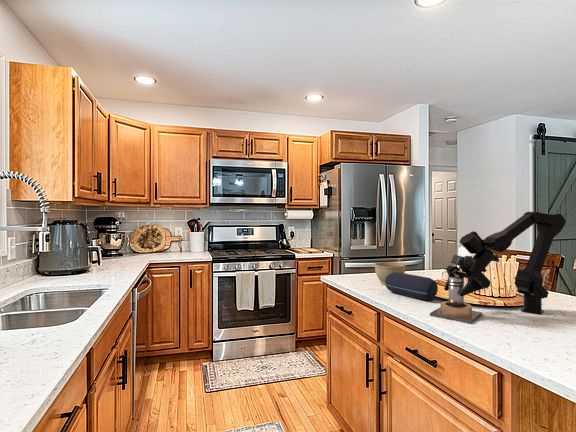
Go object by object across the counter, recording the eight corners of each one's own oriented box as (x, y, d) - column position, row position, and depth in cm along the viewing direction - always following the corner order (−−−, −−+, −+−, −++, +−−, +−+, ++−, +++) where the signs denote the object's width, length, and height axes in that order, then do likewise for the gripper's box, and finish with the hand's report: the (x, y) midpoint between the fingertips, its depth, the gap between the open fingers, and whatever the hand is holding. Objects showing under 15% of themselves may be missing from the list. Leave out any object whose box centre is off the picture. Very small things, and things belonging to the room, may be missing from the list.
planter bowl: (368, 282, 192) (368, 262, 192) (394, 280, 197) (394, 261, 197) (385, 288, 177) (385, 267, 177) (412, 286, 181) (412, 265, 181)
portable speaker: (442, 300, 152) (442, 277, 152) (427, 304, 146) (427, 280, 146) (396, 290, 173) (396, 270, 173) (382, 292, 168) (382, 272, 168)
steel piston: (456, 310, 133) (456, 276, 133) (467, 313, 128) (467, 278, 128) (445, 311, 131) (445, 277, 131) (456, 315, 126) (456, 279, 126)
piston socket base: (443, 308, 140) (443, 298, 139) (482, 314, 130) (482, 304, 130) (429, 315, 129) (429, 305, 129) (470, 323, 120) (470, 312, 120)
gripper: (450, 245, 139) (424, 273, 138) (482, 250, 121) (453, 282, 119) (468, 264, 140) (443, 292, 139) (503, 271, 122) (474, 304, 120)
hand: (452, 292), depth 129 cm, fingers open, 9 cm apart
